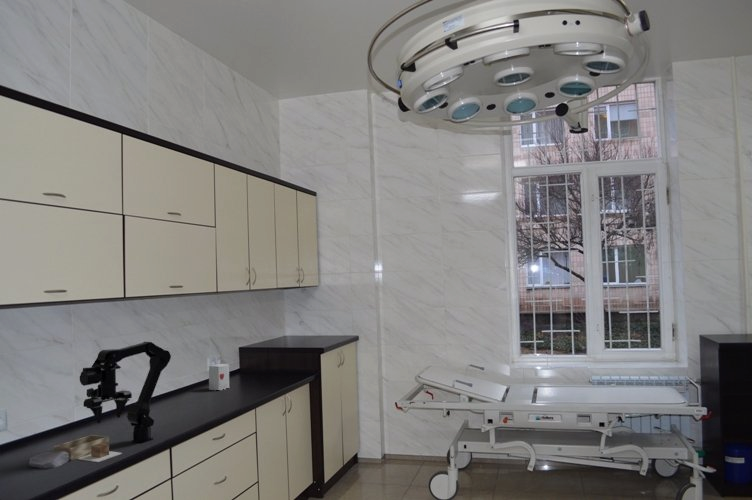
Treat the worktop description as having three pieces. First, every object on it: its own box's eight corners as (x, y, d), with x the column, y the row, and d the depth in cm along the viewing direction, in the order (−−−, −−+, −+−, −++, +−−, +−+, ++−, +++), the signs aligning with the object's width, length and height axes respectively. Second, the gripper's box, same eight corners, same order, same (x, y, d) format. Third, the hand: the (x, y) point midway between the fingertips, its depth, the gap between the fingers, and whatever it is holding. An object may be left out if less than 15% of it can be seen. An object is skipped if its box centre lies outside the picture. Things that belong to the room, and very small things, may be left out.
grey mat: (102, 451, 230) (102, 450, 230) (122, 453, 225) (122, 452, 225) (77, 459, 220) (77, 458, 220) (97, 462, 215) (97, 461, 215)
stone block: (55, 473, 210) (72, 459, 220) (52, 461, 209) (70, 447, 219) (25, 474, 211) (43, 460, 221) (23, 462, 210) (41, 449, 220)
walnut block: (100, 453, 225) (100, 443, 225) (109, 454, 223) (109, 444, 223) (91, 456, 222) (91, 446, 222) (100, 457, 219) (100, 447, 220)
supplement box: (218, 391, 348) (218, 366, 349) (208, 390, 353) (208, 365, 354) (230, 388, 356) (229, 364, 357) (220, 387, 361) (219, 363, 361)
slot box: (92, 445, 238) (92, 434, 238) (109, 447, 234) (109, 436, 234) (54, 458, 223) (53, 446, 223) (71, 460, 218) (71, 448, 218)
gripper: (113, 376, 243) (114, 413, 242) (73, 384, 226) (74, 424, 226) (132, 377, 238) (133, 415, 238) (93, 385, 222) (93, 426, 221)
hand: (108, 420), depth 231 cm, fingers open, 9 cm apart
